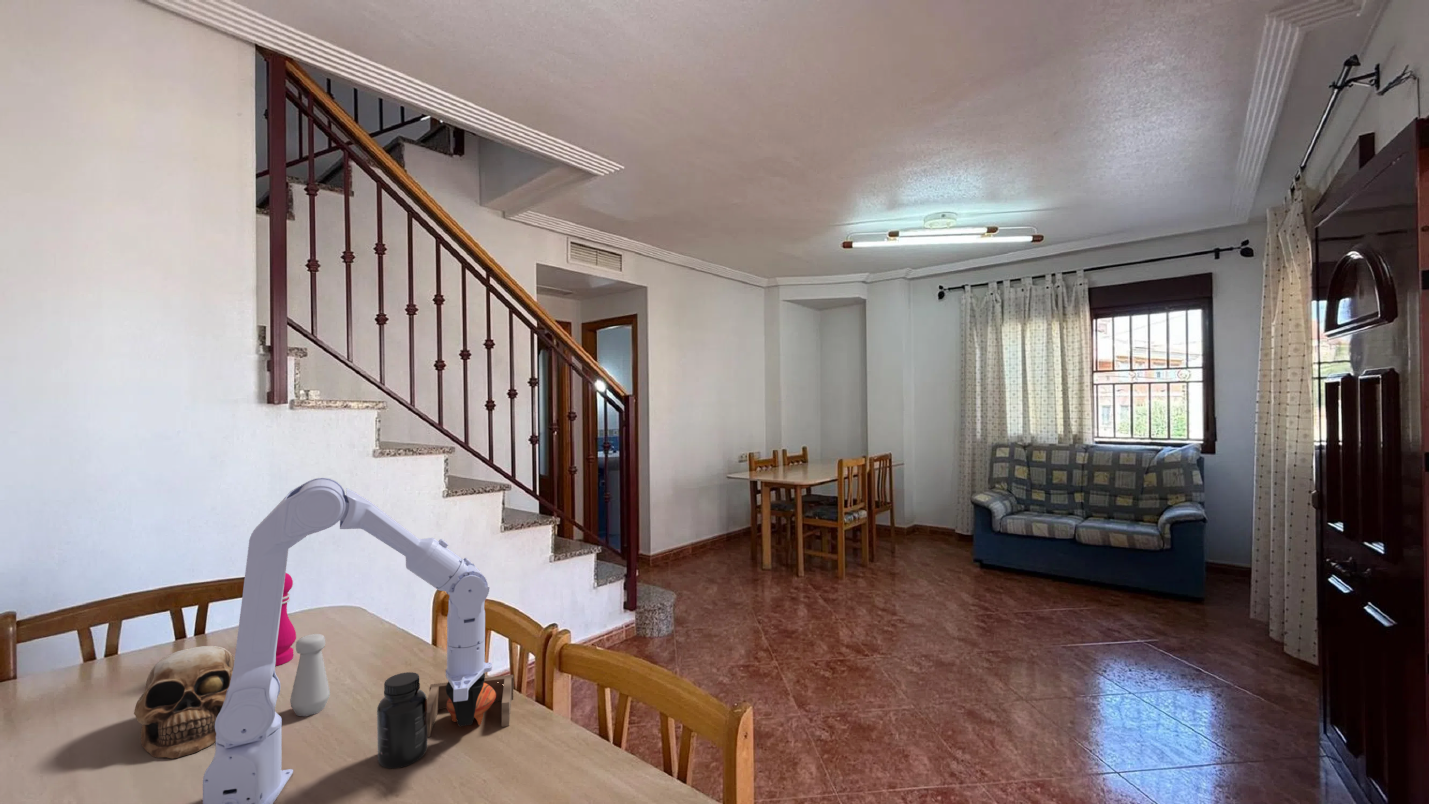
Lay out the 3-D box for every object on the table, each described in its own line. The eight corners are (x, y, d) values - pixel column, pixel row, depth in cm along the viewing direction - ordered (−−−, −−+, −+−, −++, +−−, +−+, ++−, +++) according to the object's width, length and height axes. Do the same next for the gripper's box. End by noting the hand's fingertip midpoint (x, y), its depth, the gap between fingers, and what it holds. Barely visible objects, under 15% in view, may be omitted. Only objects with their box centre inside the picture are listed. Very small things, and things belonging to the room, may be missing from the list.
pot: (508, 713, 103) (501, 679, 102) (466, 743, 97) (458, 708, 96) (484, 697, 108) (476, 664, 107) (442, 724, 102) (434, 690, 101)
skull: (179, 761, 89) (176, 671, 90) (97, 756, 93) (94, 669, 94) (279, 712, 104) (275, 634, 105) (204, 709, 109) (201, 635, 109)
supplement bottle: (415, 738, 96) (415, 664, 96) (435, 754, 92) (435, 677, 92) (369, 757, 91) (369, 679, 91) (388, 776, 87) (388, 694, 86)
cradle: (510, 725, 100) (511, 701, 100) (419, 738, 96) (419, 713, 96) (513, 696, 110) (513, 674, 110) (430, 706, 106) (430, 684, 106)
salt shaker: (309, 721, 101) (309, 645, 101) (281, 717, 102) (281, 641, 102) (337, 703, 107) (338, 631, 106) (310, 700, 108) (311, 628, 108)
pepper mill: (258, 657, 125) (258, 562, 125) (299, 651, 128) (299, 558, 128) (248, 671, 118) (248, 571, 118) (291, 665, 121) (292, 567, 121)
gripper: (488, 656, 91) (488, 744, 91) (495, 622, 105) (494, 698, 105) (438, 662, 89) (438, 752, 89) (452, 626, 103) (451, 703, 103)
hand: (465, 723), depth 97 cm, fingers closed
